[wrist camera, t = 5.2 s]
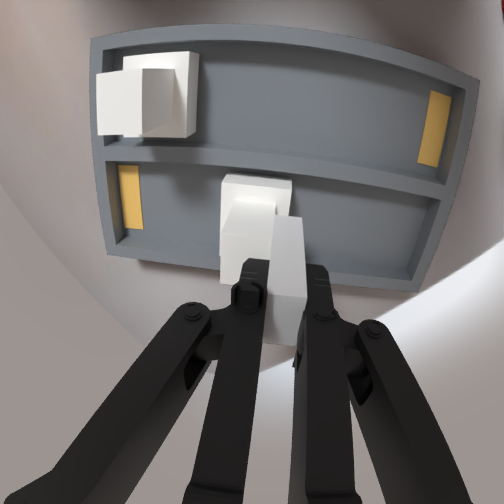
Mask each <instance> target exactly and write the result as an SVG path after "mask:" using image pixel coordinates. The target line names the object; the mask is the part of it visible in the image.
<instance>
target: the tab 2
mask: <svg viewBox="0 0 504 504" xmlns="http://www.w3.org/2000/svg"><path fill="white" fill-rule="evenodd" d="M291 193H292V179H289V178H281V177H272V176H263V175H254V174H244V173H233V172H228V173H227V174H226V176H225V177H224V179H223V181H222V184H221V213H220V251H219V256H221V259H220V283H223V284H230V285H234V284H235V283H237V282H238V281H239V278H240V274H241V269H242V265H243V263H244V262H245V261H246V260H247V259H248V258H255V259H264V260H270V254H271V245H272V236H273V226H274V216H275V215H284V216H288V214H289V207H290V200H291Z"/></svg>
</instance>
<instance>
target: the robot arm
mask: <svg viewBox="0 0 504 504" xmlns="http://www.w3.org/2000/svg"><path fill="white" fill-rule="evenodd" d="M329 280H330V279H329V272H328V271H327V270H326V268H325V267H324V266H323V265H316V264H307V263H305V250H304V236H303V224H302V218H301V217H293V216H284V215H275V216H274V226H273V236H272V245H271V254H270V260H264V259H255V258H248V259H247V260H246V261H245V262H244V263H243V265H242V269H241V274H240V278H239V281H238V282H237V283H235V284H234V285H233V287H232V288H231V305H229V306H228V307H226V308H223V309H219V310H211V311H210V310H209V309H208V308H207V306H205V305H203V304H202V303H197V302H189V303H185V304H183V305H181V306H180V307H179V308H177V309H176V311H175V312H174V313H173V314H172V316H171V317H170V318H169V319H168V321H167V322H166V323H165V324H164V326H163V327H162V328H161V329H160V331H159V332H158V333H157V334H156V336H155V337H154V338H153V339H152V341H151V342H150V343H149V344H148V346H147V347H146V348H145V349H144V351H143V352H142V353H141V355H140V356H139V357H138V358H137V359H136V361H135V362H134V363H133V365H132V366H131V367H130V368H129V370H128V371H127V372H126V374H125V375H124V376H123V377H122V379H121V380H120V381H119V382H118V384H117V385H116V386H115V388H114V389H113V390H112V391H111V393H110V394H109V395H108V397H107V398H106V399H105V400H104V402H103V403H102V404H101V406H100V407H99V409H98V410H97V411H96V412H95V413H94V415H93V416H92V417H91V419H90V420H89V421H88V423H87V424H86V426H85V427H84V428H83V429H82V431H81V432H80V433H79V435H78V436H77V437H76V439H75V440H74V441H73V442H72V444H71V445H70V446H69V448H68V449H67V450H66V452H65V453H64V455H63V456H62V457H61V459H60V460H59V461H58V463H57V464H56V465H55V467H54V468H53V469H52V471H50V472H48V473H47V474H45V475H43V476H42V477H40V478H38V479H36V480H35V481H33V482H32V483H30V484H28V485H26V486H24V487H23V488H21V489H19V490H17V491H16V492H14V493H12V494H10V495H9V496H8V497H7V498H6V499H5V501H4V504H125V502H126V501H127V499H128V498H129V496H130V495H131V493H132V492H133V490H134V488H135V487H136V485H137V484H138V482H139V480H140V479H141V477H142V475H143V474H144V472H145V471H146V469H147V467H148V466H149V464H150V463H151V461H152V460H153V458H154V456H155V455H156V453H157V452H158V450H159V448H160V447H161V445H162V443H163V442H164V440H165V438H166V437H167V435H168V434H169V432H170V430H171V429H172V427H173V425H174V424H175V422H176V420H177V419H178V417H179V415H180V414H181V412H182V411H183V409H184V407H185V405H186V404H187V402H188V400H189V399H190V397H191V396H192V394H193V392H194V391H195V389H196V387H197V386H198V383H199V382H200V380H201V379H202V377H203V376H204V374H205V372H206V370H207V369H208V367H209V365H210V364H211V361H212V360H218V363H217V367H216V372H215V376H214V380H213V385H212V389H211V393H210V398H209V403H208V407H207V411H206V415H205V420H204V424H203V429H202V433H201V438H200V442H199V446H198V451H197V455H196V460H195V464H194V469H193V473H192V477H191V481H190V483H189V484H188V486H187V488H186V490H185V494H184V497H183V501H182V504H242V503H243V495H244V486H245V479H246V472H247V464H248V456H249V449H250V441H251V433H252V425H253V417H254V409H255V400H256V393H257V384H258V376H259V367H260V358H261V349H262V343H268V344H277V345H287V346H296V343H297V351H296V355H295V358H294V362H293V366H292V367H295V380H294V408H293V431H292V432H293V433H292V452H291V468H290V482H289V495H288V504H362V500H361V497H360V496H359V495H358V494H357V493H356V491H355V481H354V455H353V438H352V424H351V411H350V401H351V404H352V406H353V409H354V412H355V415H356V418H357V420H358V423H359V426H360V429H361V431H362V434H363V437H364V440H365V442H366V446H367V448H368V451H369V454H370V457H371V460H372V463H373V466H374V469H375V472H376V475H377V478H378V481H379V484H380V487H381V490H382V493H383V496H384V499H385V502H386V504H473V503H472V502H471V500H470V497H469V494H468V492H467V489H466V487H465V484H464V482H463V479H462V477H461V475H460V472H459V469H458V467H457V465H456V463H455V460H454V458H453V455H452V453H451V451H450V449H449V446H448V444H447V442H446V440H445V438H444V435H443V433H442V431H441V429H440V427H439V425H438V423H437V421H436V418H435V416H434V414H433V412H432V410H431V408H430V406H429V404H428V402H427V400H426V398H425V396H424V394H423V392H422V390H421V388H420V386H419V384H418V382H417V381H416V379H415V377H414V375H413V373H412V371H411V369H410V367H409V365H408V364H407V362H406V360H405V358H404V356H403V354H402V353H401V351H400V349H399V347H398V346H397V344H396V342H395V340H394V338H393V336H392V335H391V333H390V331H389V329H388V328H387V327H386V326H385V325H384V324H383V323H381V322H379V321H376V320H369V319H368V320H364V321H362V322H361V323H360V324H359V326H358V325H355V324H352V323H349V322H347V321H344V320H343V319H341V318H340V316H339V314H338V312H337V311H336V310H335V309H334V306H333V299H332V292H331V287H330V281H329Z"/></svg>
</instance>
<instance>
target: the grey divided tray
mask: <svg viewBox="0 0 504 504" xmlns="http://www.w3.org/2000/svg"><path fill="white" fill-rule="evenodd" d="M184 51H190V52H195V53H199V70H198V89H197V114H196V132H195V133H193V134H192V135H190V136H188V137H187V138H170V137H124V136H123V135H98V129H97V103H96V74H100V73H107V72H114V71H122V70H123V57H126V56H134V55H143V54H153V53H166V52H184ZM479 84H480V80H478V79H475V78H473V77H471V76H469V75H467V74H464V73H462V72H460V71H458V70H455V69H453V68H450V67H448V66H445V65H443V64H440V63H438V62H435V61H432V60H430V59H427V58H424V57H421V56H418V55H415V54H412V53H409V52H406V51H403V50H399V49H396V48H393V47H389V46H386V45H382V44H378V43H374V42H370V41H366V40H362V39H358V38H353V37H348V36H343V35H338V34H333V33H327V32H321V31H315V30H308V29H300V28H292V27H282V26H270V25H255V24H192V25H177V26H165V27H155V28H147V29H140V30H133V31H126V32H121V33H115V34H110V35H105V36H100V37H95V38H91V44H90V73H89V94H90V124H91V140H92V153H93V164H94V173H95V182H96V190H97V197H98V204H99V211H100V217H101V223H102V229H103V235H104V240H105V246H106V251H107V255H113V256H120V257H127V258H134V259H141V260H148V261H155V262H162V263H169V264H176V265H183V266H191V267H198V268H206V269H213V270H220V259H221V256H219V251H220V213H221V184H222V181H223V179H224V177H225V176H226V174H227V173H228V172H233V173H244V174H254V175H263V176H272V177H281V178H289V179H292V193H291V200H290V207H289V214H288V216H293V217H301V218H302V224H303V236H304V250H305V263H307V264H316V265H323V266H324V267H325V268H326V270H327V271H328V272H329V279H330V280H329V281H330V284H339V285H348V286H358V287H367V288H377V289H387V290H397V291H408V292H418V291H419V289H420V287H421V285H422V282H423V280H424V278H425V276H426V273H427V271H428V269H429V266H430V264H431V261H432V259H433V256H434V254H435V251H436V249H437V246H438V244H439V241H440V238H441V236H442V233H443V230H444V228H445V225H446V222H447V219H448V216H449V213H450V210H451V207H452V204H453V201H454V198H455V194H456V191H457V188H458V184H459V181H460V177H461V174H462V170H463V166H464V162H465V158H466V154H467V150H468V146H469V141H470V137H471V132H472V127H473V122H474V117H475V111H476V105H477V99H478V92H479Z"/></svg>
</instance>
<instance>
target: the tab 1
mask: <svg viewBox="0 0 504 504" xmlns="http://www.w3.org/2000/svg"><path fill="white" fill-rule="evenodd" d="M198 70H199V53H195V52H190V51H184V52H166V53H153V54H143V55H134V56H126V57H123V70H122V71H114V72H107V73H100V74H96V103H97V129H98V135H123V136H124V137H170V138H187V137H188V136H190V135H192V134H193V133H195V132H196V114H197V89H198Z"/></svg>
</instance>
